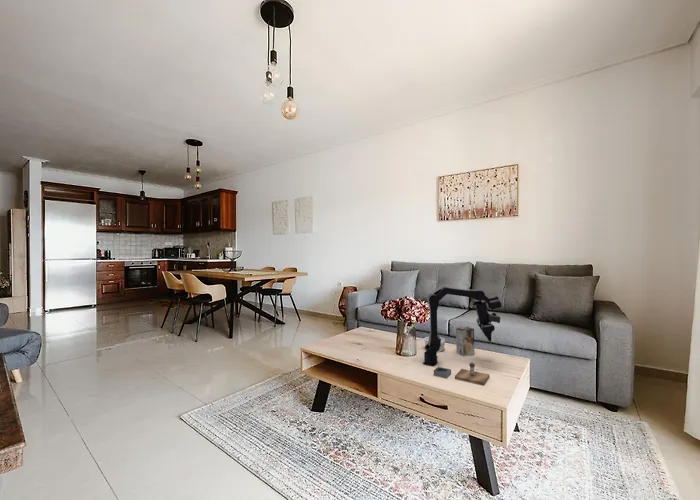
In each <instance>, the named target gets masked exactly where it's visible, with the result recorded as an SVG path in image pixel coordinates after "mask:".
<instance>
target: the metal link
mask: <svg viewBox="0 0 700 500" xmlns="http://www.w3.org/2000/svg"><path fill="white" fill-rule="evenodd" d="M451 375H452V369H451V368H447V367H441V366H437V367H436V368H435V369H434V370H433V377H439V378H443V379H448V378H449V377H450V376H451Z"/></svg>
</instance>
